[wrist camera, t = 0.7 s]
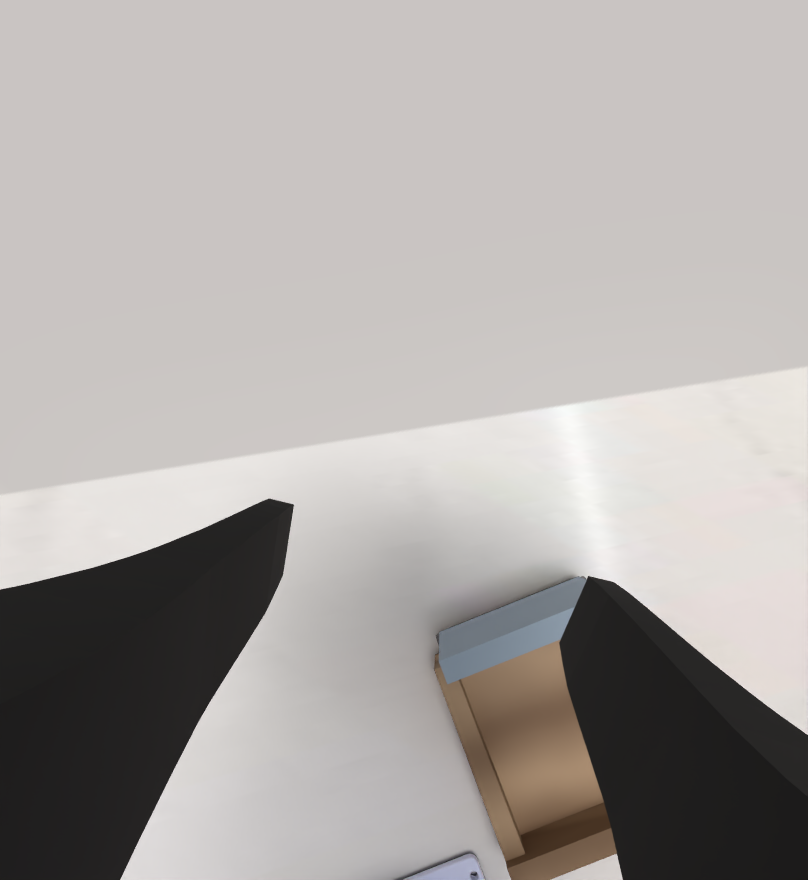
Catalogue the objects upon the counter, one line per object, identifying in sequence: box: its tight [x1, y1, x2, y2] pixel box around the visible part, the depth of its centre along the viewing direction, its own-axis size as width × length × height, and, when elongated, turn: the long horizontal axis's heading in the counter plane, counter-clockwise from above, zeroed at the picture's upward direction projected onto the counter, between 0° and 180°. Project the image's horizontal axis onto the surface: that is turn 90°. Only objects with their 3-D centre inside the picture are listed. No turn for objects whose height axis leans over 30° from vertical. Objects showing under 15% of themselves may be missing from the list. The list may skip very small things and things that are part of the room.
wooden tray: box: [434, 639, 617, 880], centre depth 26 cm, size 12×12×4 cm
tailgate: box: [436, 576, 587, 684], centre depth 25 cm, size 1×11×6 cm, turn 111°
